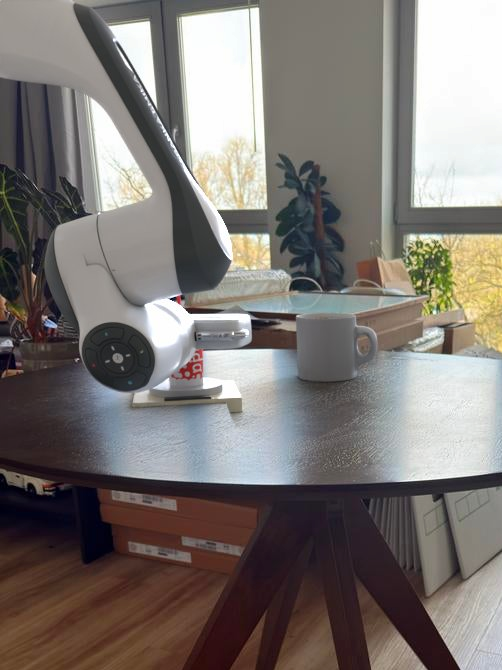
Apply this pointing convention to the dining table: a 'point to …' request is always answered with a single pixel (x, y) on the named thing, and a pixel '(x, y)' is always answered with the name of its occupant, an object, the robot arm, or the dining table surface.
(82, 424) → the dining table surface
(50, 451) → the dining table surface
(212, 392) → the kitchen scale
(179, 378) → the beverage cup
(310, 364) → the coffee mug
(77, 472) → the dining table surface
